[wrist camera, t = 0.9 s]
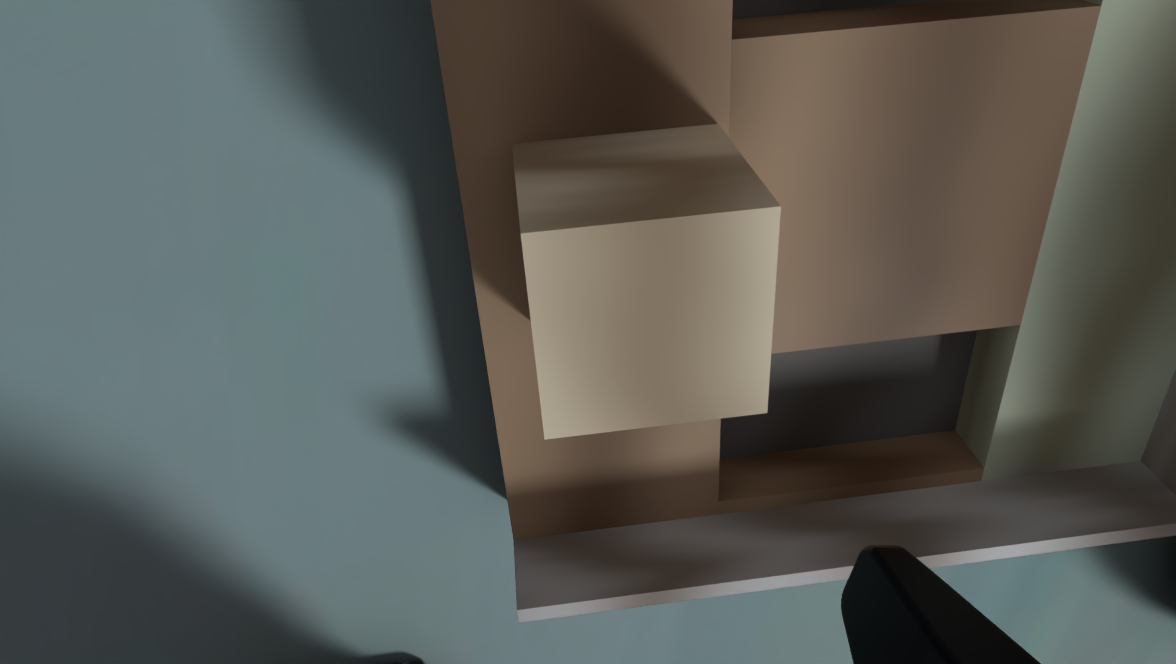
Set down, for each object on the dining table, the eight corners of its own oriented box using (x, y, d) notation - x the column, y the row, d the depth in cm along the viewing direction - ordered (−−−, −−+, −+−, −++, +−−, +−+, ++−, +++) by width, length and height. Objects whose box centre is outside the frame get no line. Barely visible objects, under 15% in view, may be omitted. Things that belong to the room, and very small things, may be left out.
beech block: (532, 322, 20) (544, 439, 17) (511, 143, 18) (520, 233, 14) (714, 301, 21) (767, 412, 17) (718, 123, 18) (780, 206, 14)
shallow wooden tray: (513, 504, 26) (519, 638, 22) (393, -292, 15) (361, -330, 11) (1124, 428, 27) (1242, 541, 23) (1407, -359, 17) (1723, -416, 12)
